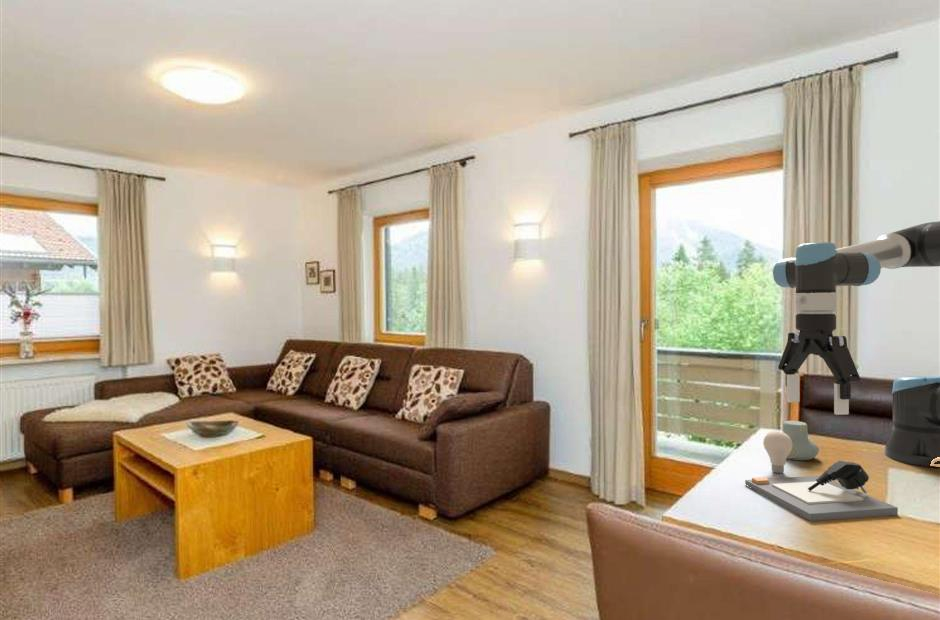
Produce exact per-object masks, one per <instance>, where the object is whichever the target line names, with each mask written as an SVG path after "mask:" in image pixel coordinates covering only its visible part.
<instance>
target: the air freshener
mask: <svg viewBox="0 0 940 620" xmlns="http://www.w3.org/2000/svg"><path fill="white" fill-rule="evenodd" d="M808 428H809V427H808V424H807V422H804V421H800V420H798V421H797V420H785V421H783V423H782V432H783V433H785V434H787V435H788V436H789V437H790V439H791V440H792V445H793V446H792V450H791V452H790V454H789V455H788V457H787V458H786V459H787V460H788V459H789V460H792V461H793V460H794V461H809V460H812V459H814V458H816V457H817V456H818V454H819V450H820V449H819V446H818V444H816V443H815V442H814V441H813V440H812V439H810V438H808V437H809V436H808V435H809V433H808V432H809V430H808Z"/></svg>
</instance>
